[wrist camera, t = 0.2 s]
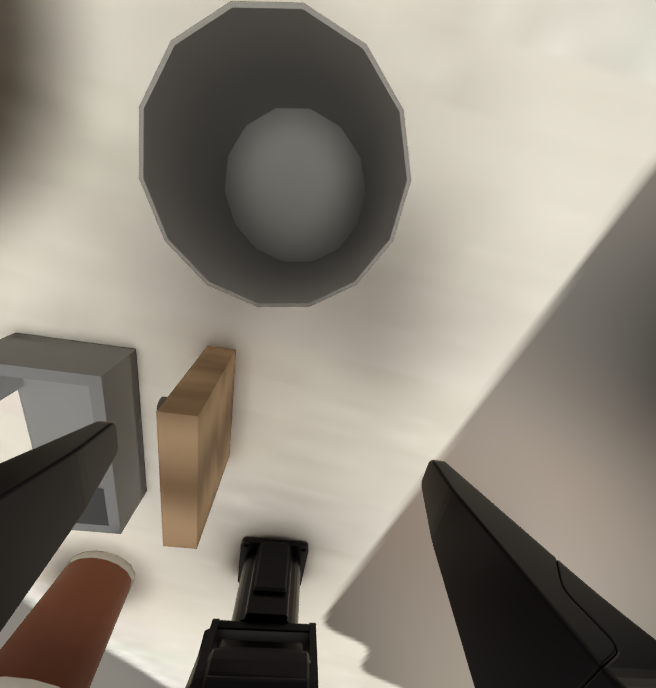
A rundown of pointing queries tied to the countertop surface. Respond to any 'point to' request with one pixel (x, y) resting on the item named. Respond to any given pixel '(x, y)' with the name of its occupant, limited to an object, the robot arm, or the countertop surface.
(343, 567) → the countertop surface
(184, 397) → the door
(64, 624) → the coffee cup
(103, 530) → the carcass
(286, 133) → the cup
